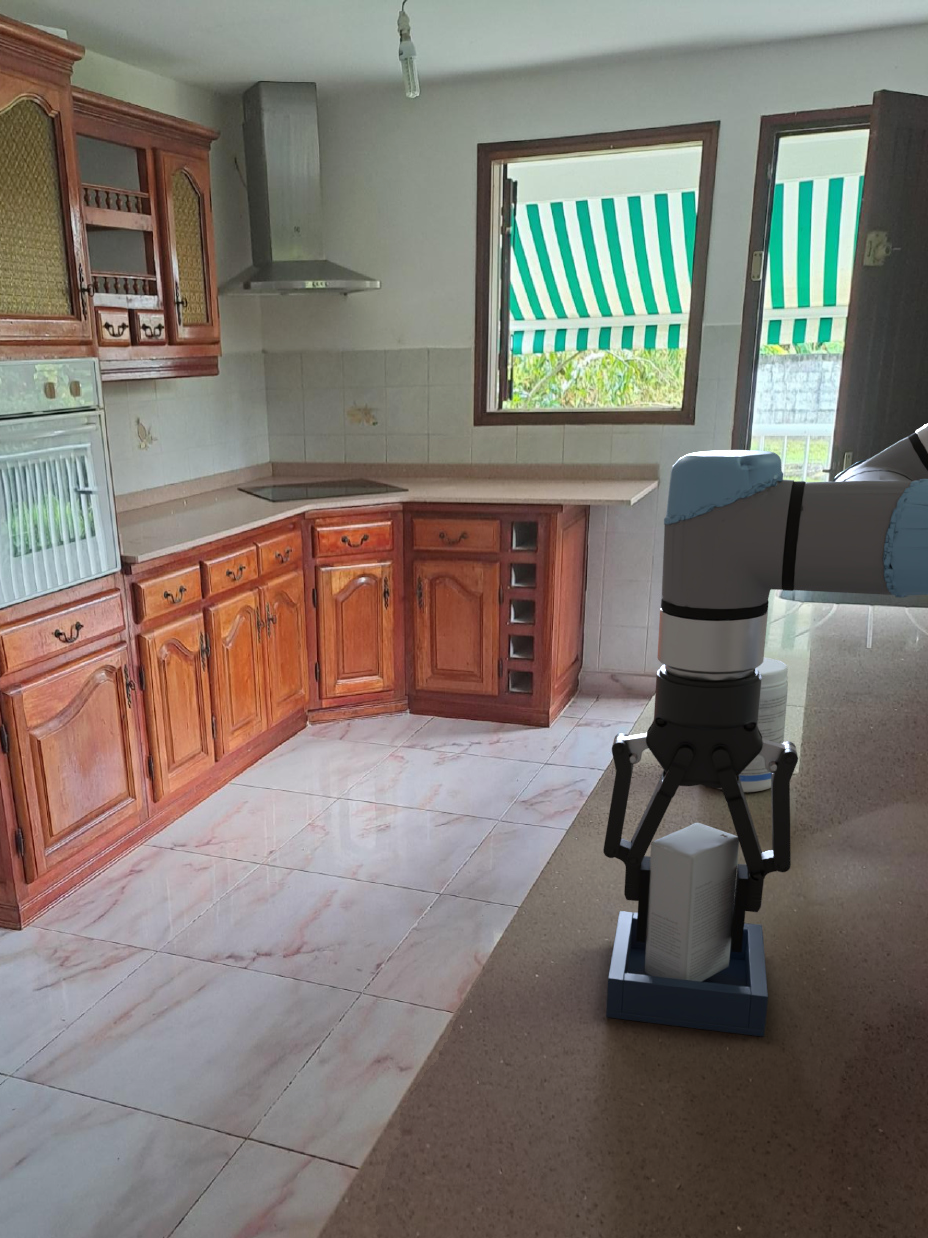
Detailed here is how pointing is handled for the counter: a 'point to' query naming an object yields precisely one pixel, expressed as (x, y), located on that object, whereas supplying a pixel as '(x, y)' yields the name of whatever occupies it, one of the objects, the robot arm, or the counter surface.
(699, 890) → the cosmetic box
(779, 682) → the supplement tub
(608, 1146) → the counter surface
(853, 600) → the counter surface
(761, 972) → the holder
